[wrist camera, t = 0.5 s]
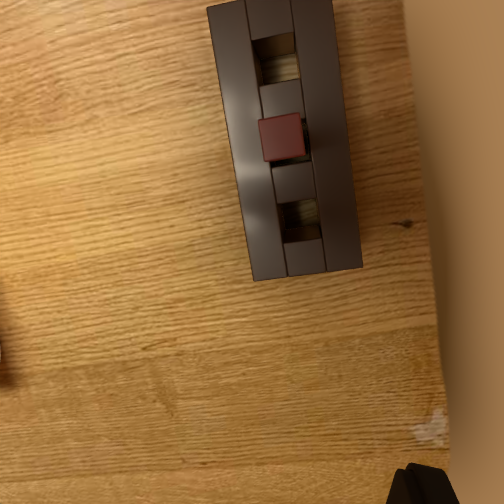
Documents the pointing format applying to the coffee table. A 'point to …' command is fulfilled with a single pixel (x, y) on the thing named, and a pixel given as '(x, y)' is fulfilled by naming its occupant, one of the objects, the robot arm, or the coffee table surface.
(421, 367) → the coffee table surface
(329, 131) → the holder
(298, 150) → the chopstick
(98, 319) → the coffee table surface
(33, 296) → the coffee table surface
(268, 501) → the coffee table surface
